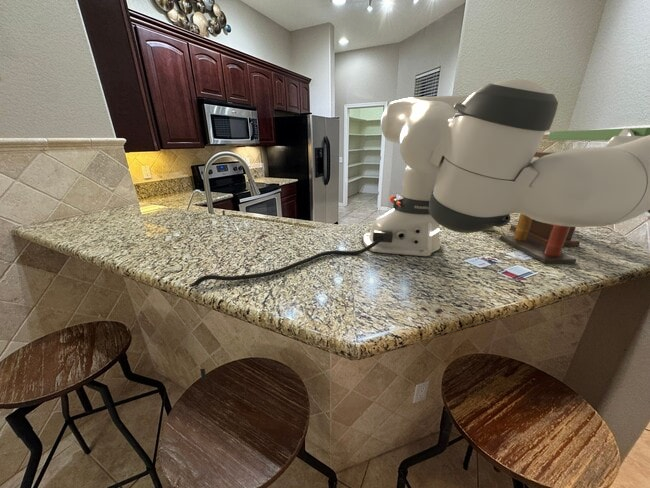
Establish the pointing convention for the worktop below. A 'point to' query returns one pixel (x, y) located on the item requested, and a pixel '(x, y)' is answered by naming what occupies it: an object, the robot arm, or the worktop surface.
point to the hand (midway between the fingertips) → (633, 132)
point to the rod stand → (537, 249)
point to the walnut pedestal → (546, 225)
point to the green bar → (594, 134)
